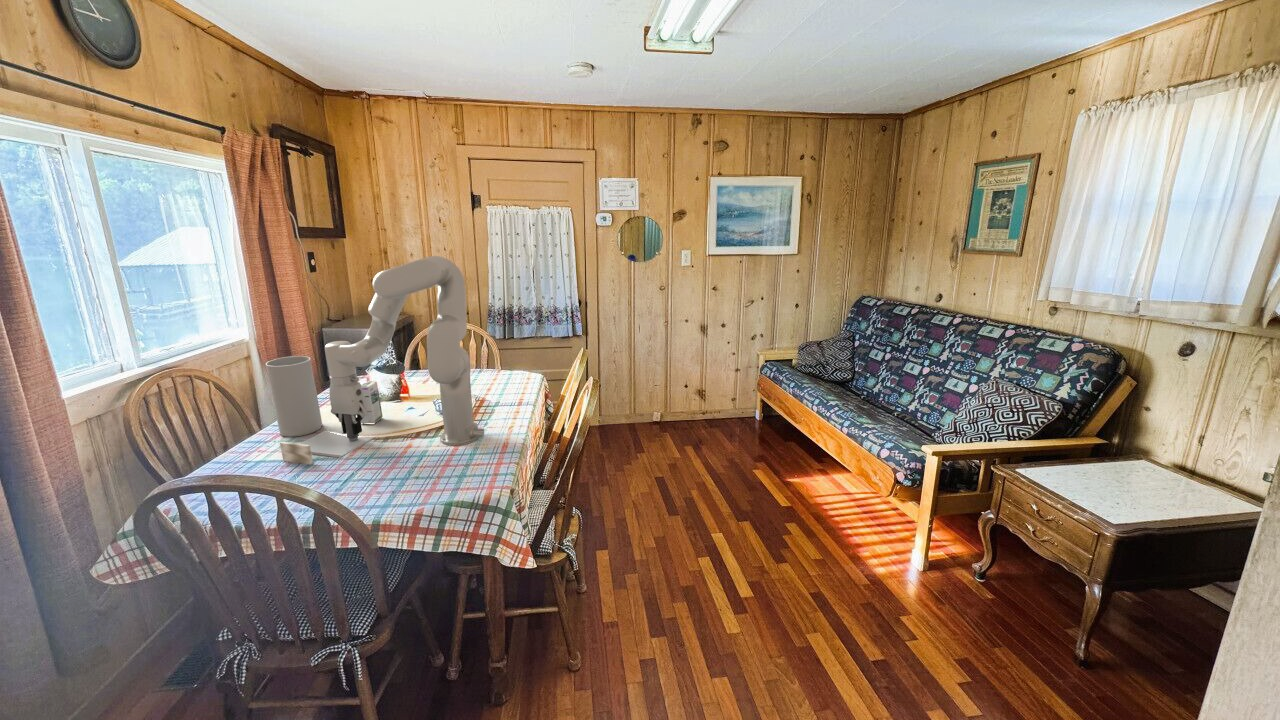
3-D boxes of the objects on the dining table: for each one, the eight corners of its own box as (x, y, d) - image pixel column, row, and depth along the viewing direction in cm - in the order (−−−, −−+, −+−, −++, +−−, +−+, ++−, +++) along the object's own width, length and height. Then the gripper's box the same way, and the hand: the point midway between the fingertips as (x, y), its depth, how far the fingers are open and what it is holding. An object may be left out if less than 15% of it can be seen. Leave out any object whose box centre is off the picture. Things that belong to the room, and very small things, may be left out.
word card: (313, 463, 154) (309, 444, 153) (310, 464, 154) (307, 446, 152) (286, 459, 157) (282, 441, 155) (283, 460, 156) (279, 442, 154)
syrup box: (375, 424, 182) (369, 386, 178) (358, 424, 183) (352, 386, 179) (383, 418, 188) (377, 381, 184) (367, 418, 188) (361, 381, 184)
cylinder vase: (288, 440, 169) (273, 368, 163) (274, 431, 177) (259, 361, 170) (329, 428, 179) (316, 360, 172) (313, 420, 186) (301, 354, 179)
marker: (361, 437, 171) (356, 404, 168) (354, 442, 167) (348, 408, 164) (352, 437, 171) (347, 404, 168) (345, 441, 168) (339, 407, 165)
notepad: (375, 437, 173) (375, 436, 172) (339, 458, 158) (338, 457, 158) (325, 431, 177) (325, 430, 177) (285, 451, 162) (285, 450, 162)
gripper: (374, 378, 166) (382, 430, 171) (331, 374, 169) (340, 426, 174) (357, 385, 159) (365, 439, 164) (312, 381, 162) (322, 435, 167)
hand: (352, 432), depth 169 cm, fingers closed on marker, 3 cm apart
